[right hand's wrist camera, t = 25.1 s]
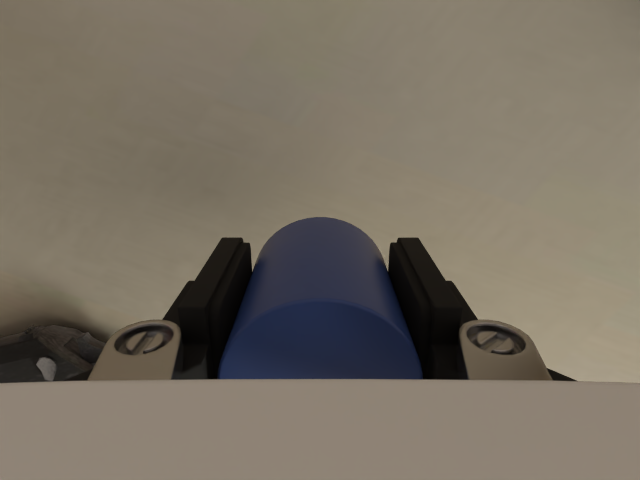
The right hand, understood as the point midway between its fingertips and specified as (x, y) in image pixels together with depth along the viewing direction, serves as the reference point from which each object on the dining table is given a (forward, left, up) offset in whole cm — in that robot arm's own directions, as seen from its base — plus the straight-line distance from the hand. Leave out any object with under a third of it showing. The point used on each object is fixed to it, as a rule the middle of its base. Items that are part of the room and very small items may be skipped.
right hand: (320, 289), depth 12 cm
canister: (0, 0, 0) cm, 0 cm away
